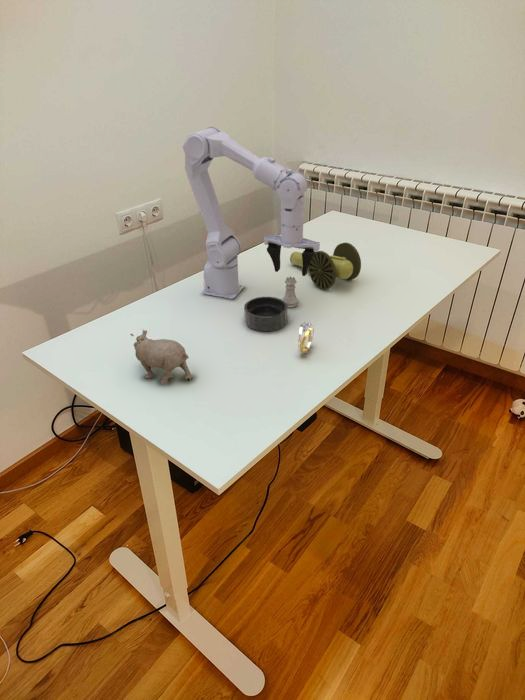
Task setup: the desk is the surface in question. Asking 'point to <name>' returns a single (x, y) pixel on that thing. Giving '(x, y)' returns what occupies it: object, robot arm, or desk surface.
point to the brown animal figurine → (161, 356)
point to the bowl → (265, 313)
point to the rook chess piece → (290, 293)
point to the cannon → (331, 265)
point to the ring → (311, 333)
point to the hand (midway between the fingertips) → (290, 272)
